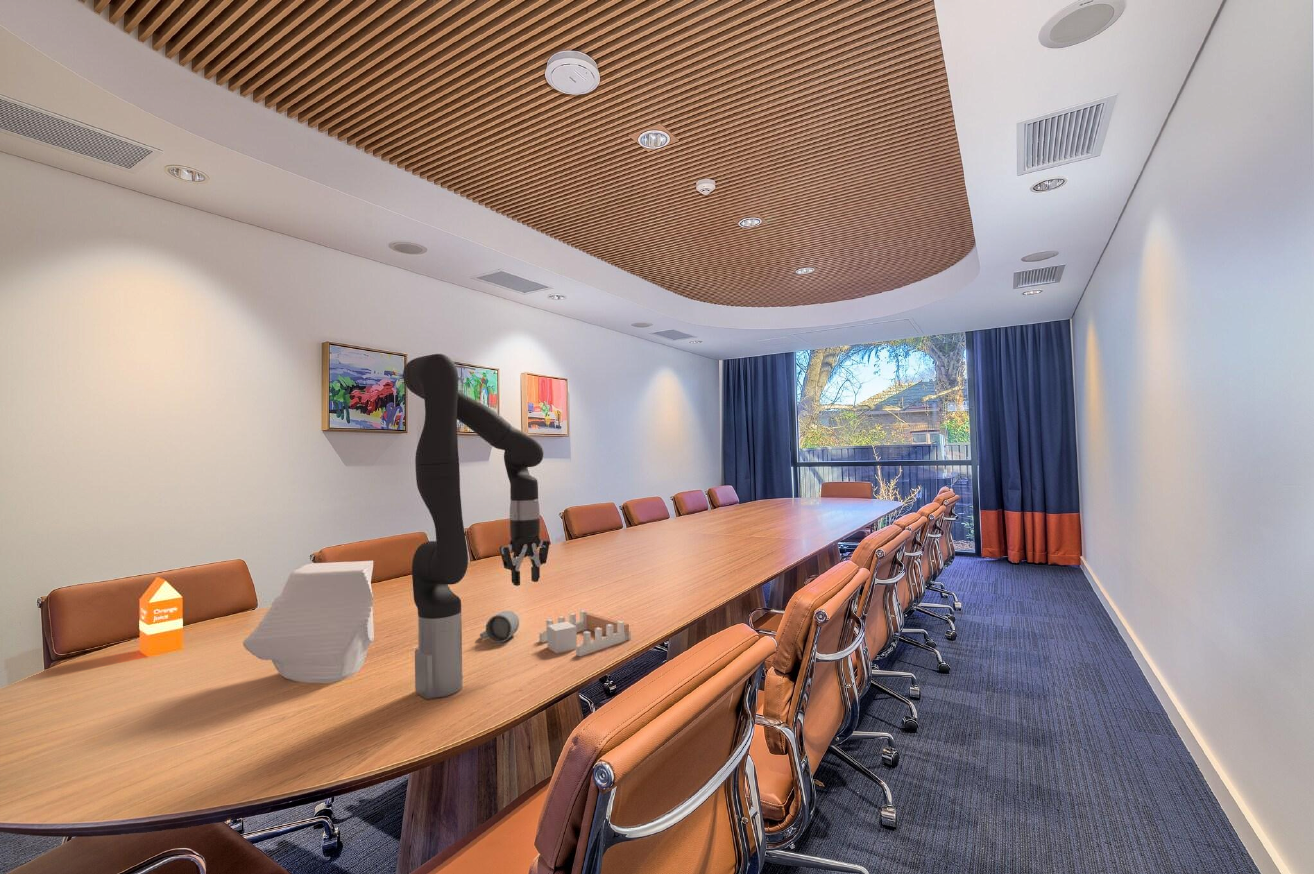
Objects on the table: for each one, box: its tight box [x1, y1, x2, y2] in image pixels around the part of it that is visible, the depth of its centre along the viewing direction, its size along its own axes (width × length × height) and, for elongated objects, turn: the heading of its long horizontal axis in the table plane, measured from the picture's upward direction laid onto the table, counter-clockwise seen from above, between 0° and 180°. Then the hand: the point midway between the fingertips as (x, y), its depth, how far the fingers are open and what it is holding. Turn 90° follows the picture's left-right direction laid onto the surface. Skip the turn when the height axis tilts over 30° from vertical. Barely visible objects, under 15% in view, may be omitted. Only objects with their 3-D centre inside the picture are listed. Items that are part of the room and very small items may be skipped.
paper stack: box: [242, 560, 375, 684], centre depth 147 cm, size 21×27×26 cm
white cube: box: [546, 621, 578, 654], centre depth 158 cm, size 6×6×6 cm
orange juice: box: [138, 576, 184, 658], centre depth 164 cm, size 8×9×20 cm
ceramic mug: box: [479, 610, 520, 644], centre depth 168 cm, size 11×8×8 cm
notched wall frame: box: [539, 609, 632, 657], centre depth 164 cm, size 18×18×5 cm
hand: (526, 583), depth 151 cm, fingers open, 5 cm apart
